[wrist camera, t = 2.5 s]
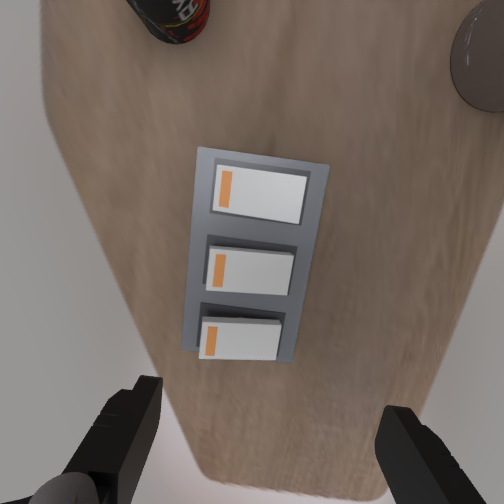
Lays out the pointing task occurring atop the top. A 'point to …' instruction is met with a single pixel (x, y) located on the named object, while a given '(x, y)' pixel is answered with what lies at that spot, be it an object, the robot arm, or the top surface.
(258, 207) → the rocker
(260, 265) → the rocker
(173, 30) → the deodorant
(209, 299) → the rocker switch panel
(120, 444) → the robot arm
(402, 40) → the top surface
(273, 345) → the rocker
